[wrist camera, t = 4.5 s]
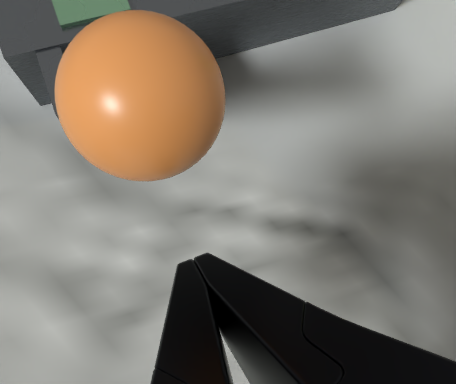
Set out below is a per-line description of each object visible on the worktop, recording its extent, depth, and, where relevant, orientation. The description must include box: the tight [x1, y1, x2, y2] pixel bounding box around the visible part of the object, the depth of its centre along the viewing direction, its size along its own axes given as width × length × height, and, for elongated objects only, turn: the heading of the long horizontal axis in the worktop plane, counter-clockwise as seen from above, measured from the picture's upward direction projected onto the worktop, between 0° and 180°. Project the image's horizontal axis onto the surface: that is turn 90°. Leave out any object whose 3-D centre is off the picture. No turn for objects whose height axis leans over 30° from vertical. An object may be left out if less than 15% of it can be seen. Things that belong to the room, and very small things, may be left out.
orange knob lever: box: [55, 10, 225, 181], centre depth 12 cm, size 3×3×13 cm
